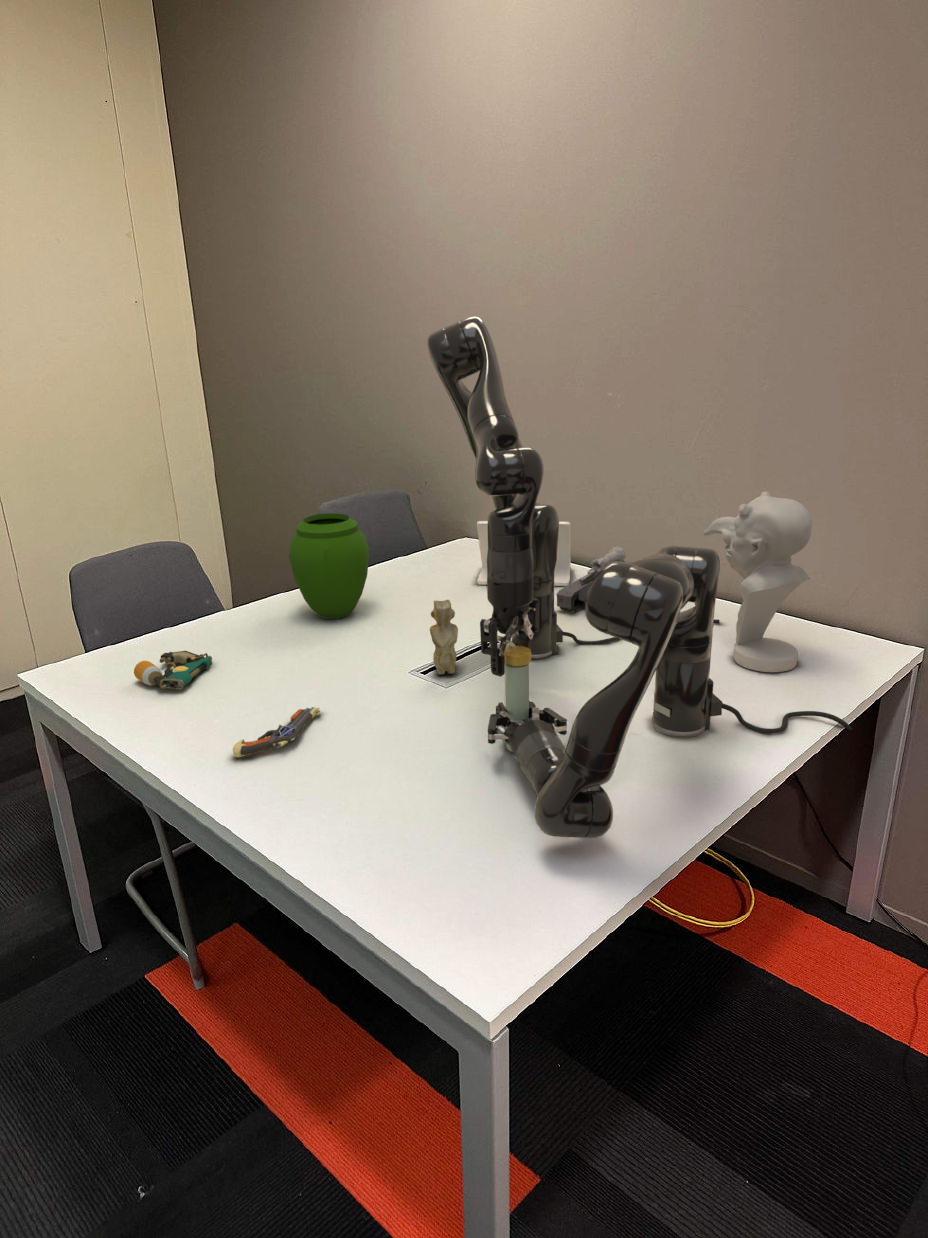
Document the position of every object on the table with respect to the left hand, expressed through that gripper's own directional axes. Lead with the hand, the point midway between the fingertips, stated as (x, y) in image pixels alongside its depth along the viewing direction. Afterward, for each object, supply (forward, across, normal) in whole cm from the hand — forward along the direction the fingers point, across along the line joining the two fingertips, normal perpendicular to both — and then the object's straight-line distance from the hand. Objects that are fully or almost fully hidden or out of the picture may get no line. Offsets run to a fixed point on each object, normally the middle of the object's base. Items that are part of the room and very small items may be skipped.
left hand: (511, 666), depth 143 cm
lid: (-2, 0, +1) cm, 3 cm away
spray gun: (+15, +16, -75) cm, 78 cm away
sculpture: (+15, -18, -30) cm, 38 cm away
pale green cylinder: (+15, 0, +1) cm, 15 cm away
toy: (+16, -74, -19) cm, 78 cm away
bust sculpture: (+16, -60, +19) cm, 65 cm away
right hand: (+9, -2, -1) cm, 9 cm away
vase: (+16, -30, -74) cm, 82 cm away
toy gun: (+15, +21, -37) cm, 45 cm away
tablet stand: (+16, -82, -52) cm, 98 cm away
